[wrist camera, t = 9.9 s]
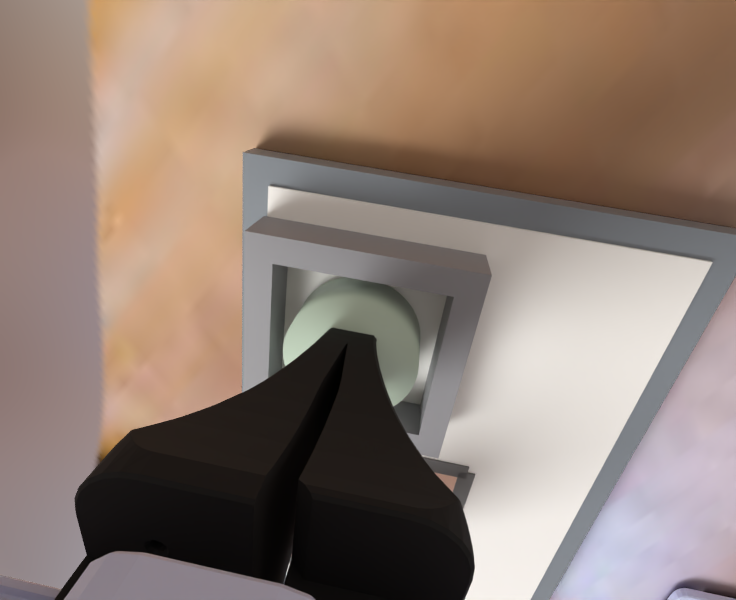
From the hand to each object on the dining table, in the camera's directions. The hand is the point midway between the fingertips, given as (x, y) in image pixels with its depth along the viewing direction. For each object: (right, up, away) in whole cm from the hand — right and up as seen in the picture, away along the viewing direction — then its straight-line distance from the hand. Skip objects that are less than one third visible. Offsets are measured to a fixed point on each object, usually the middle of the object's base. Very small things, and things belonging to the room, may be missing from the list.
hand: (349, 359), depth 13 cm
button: (0, +1, +1) cm, 2 cm away
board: (+3, -4, +4) cm, 6 cm away
